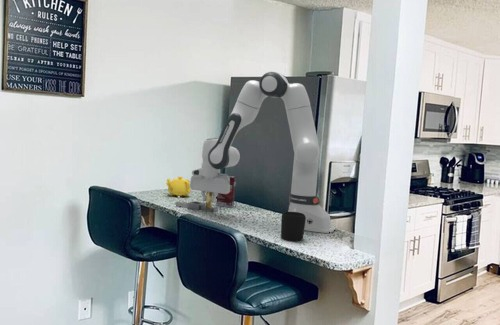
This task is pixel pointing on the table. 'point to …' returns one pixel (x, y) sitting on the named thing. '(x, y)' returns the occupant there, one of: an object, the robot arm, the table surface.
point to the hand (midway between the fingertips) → (209, 201)
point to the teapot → (178, 186)
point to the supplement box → (227, 195)
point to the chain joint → (196, 206)
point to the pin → (209, 200)
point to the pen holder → (292, 226)
